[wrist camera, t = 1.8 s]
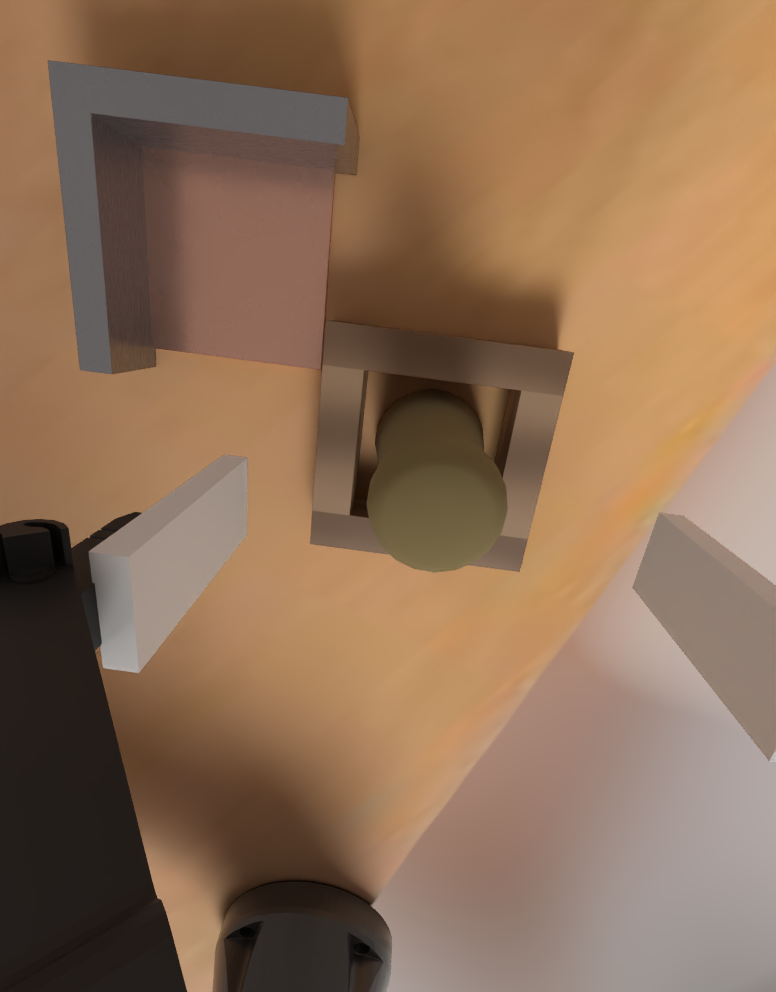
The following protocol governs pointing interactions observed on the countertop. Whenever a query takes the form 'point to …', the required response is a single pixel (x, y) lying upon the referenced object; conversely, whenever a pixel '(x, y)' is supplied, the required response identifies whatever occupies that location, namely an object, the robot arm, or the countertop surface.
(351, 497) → the socket block
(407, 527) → the olive stamp handle
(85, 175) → the corner cradle
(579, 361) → the countertop surface
